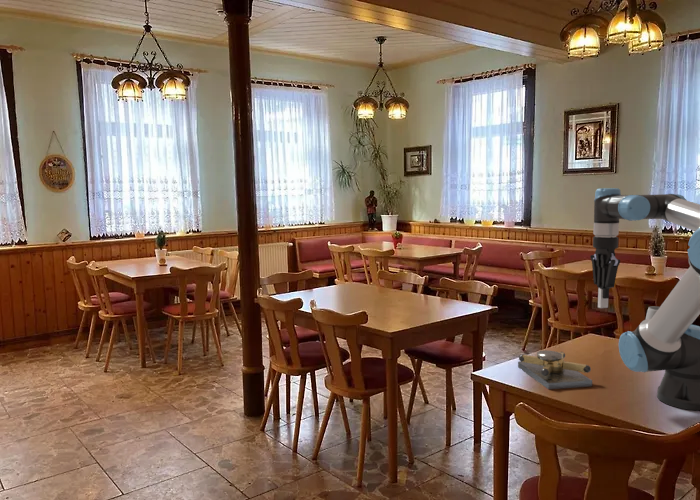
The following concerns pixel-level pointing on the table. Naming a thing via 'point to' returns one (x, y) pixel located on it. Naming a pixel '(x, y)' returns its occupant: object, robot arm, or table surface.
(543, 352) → the capstan
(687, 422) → the table surface
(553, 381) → the stand
